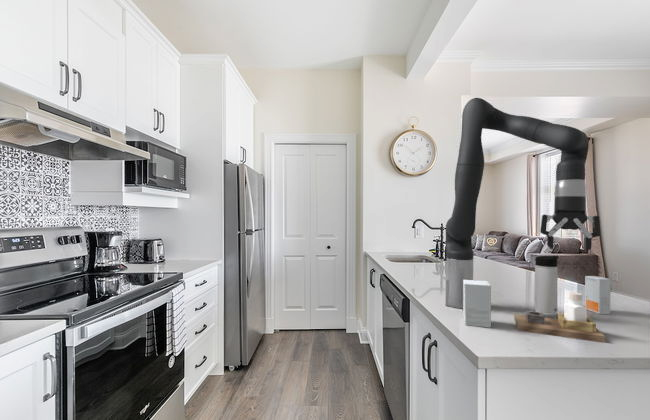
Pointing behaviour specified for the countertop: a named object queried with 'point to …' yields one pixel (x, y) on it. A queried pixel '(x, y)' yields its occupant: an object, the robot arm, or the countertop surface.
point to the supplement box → (477, 303)
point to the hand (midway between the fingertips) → (568, 249)
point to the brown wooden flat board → (558, 326)
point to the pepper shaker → (575, 308)
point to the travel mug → (546, 285)
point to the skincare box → (597, 294)
